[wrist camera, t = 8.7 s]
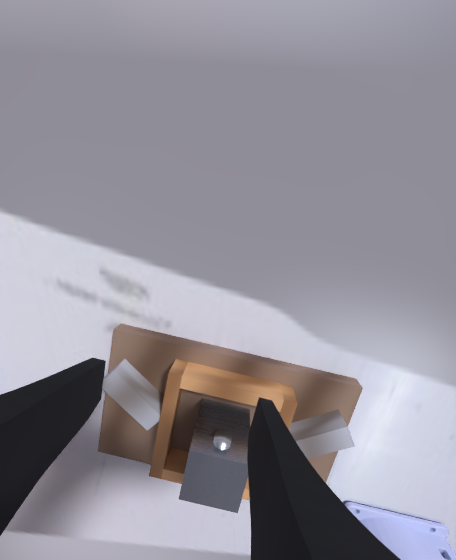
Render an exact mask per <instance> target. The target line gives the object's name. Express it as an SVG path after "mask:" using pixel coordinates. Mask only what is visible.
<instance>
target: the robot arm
mask: <svg viewBox="0 0 456 560" xmlns="http://www.w3.org/2000/svg"><path fill="white" fill-rule="evenodd" d="M105 362H106V361H104V360H100V359H96V358H91V359H88V360H86V361H84V362H81V363H79V364H77V365H74V366H72V367H70V368H68V369H65V370H63V371H61V372H58V373H56V374H54V375H51V376H49V377H47V378H44V379H42V380H39V381H36V382H34V383H31V384H29V385H26V386H24V387H21V388H18V389H16V390H13V391H10V392H7V393H4V394H1V395H0V535H1V534H2V533H3V531H4V530H5V528H6V527H7V525H8V524H9V522H10V521H11V519H12V518H13V516H14V515H15V513H16V512H17V510H18V509H19V507H20V506H21V504H22V503H23V502H24V500H25V499H26V497H27V496H28V494H29V493H30V492H31V490H32V489H33V487H34V486H35V484H36V483H37V482H38V480H39V479H40V478H41V476H42V475H43V474H44V472H45V471H46V470H47V469H48V467H49V466H50V465H51V464H52V463H53V461H54V460H55V459H56V458H57V457H58V455H59V454H60V453H61V452H62V450H63V449H64V448H65V447H66V446H67V444H68V443H69V442H70V441H71V440H72V438H73V437H74V436H75V435H76V433H77V432H78V431H79V430H80V428H81V427H82V426H83V425H84V424H85V422H86V421H87V420H88V418H89V417H90V415H91V414H92V412H93V411H94V409H95V407H96V406H97V404H98V403H99V401H100V399H101V394H102V386H103V378H104V370H105ZM247 463H248V481H249V497H250V513H251V560H456V553H455V552H454V550H453V549H452V547H451V546H450V544H449V543H448V541H447V539H446V537H447V536H448V534H449V530H448V529H447V527H446V526H445V525H443V524H440V523H436V522H432V521H428V520H423V519H419V518H415V517H411V516H407V515H403V514H399V513H394V512H390V511H386V510H382V509H378V508H374V507H370V506H365V505H361V504H357V503H353V502H347V503H346V504H345V505H344V504H343V503H342V501H341V500H340V499H339V498H338V497H337V496H336V495H335V494H334V493H333V491H332V490H331V489H330V488H329V487H328V485H327V484H326V483H325V482H324V480H323V479H322V478H321V477H320V475H319V474H318V473H317V471H316V470H315V469H314V468H313V466H312V465H311V463H310V462H309V461H308V459H307V458H306V456H305V455H304V453H303V452H302V450H301V449H300V447H299V446H298V444H297V443H296V441H295V439H294V438H293V436H292V435H291V433H290V431H289V430H288V428H287V426H286V424H285V423H284V421H283V419H282V417H281V415H280V414H279V412H278V410H277V408H276V406H275V404H274V403H273V401H272V400H269V399H264V398H260V397H259V399H258V402H257V406H256V409H255V413H254V416H253V420H252V423H251V427H250V430H249V434H248V452H247Z"/></svg>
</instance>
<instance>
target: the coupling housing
mask: <svg viewBox="0 0 456 560" xmlns="http://www.w3.org/2000/svg"><path fill="white" fill-rule="evenodd" d="M102 389H103V390H104V391H105V392H106V394H105V402H104V409H103V417H102V425H101V433H100V440H99V448H98V451H99V452H103V453H107V454H111V455H115V456H119V457H123V458H128V459H132V460H136V461H140V462H144V463H148V464H151V468H150V473H149V476H151V477H156V478H160V479H164V480H168V481H172V482H176V483H180V484H182V482H183V477H184V473H185V468H186V464H187V459H188V454H189V450H190V446H191V442H192V437H193V433H194V429H195V425H196V421H197V417H198V413H199V409H200V404H201V400H202V398H205V399H209V400H214V401H218V402H222V403H227V404H231V405H235V406H240V407H244V408H248V409H250V427H251V423H252V420H253V416H254V413H255V409H256V406H257V402H258V399H259V397H260V398H264V399H269V400H272V401H273V403H274V404H275V406H276V408H277V410H278V412H279V414H280V415H281V417H282V419H283V421H284V423H285V424H286V426H287V428H288V430H289V431H290V433H291V435H292V436H293V438H294V439H295V441H296V443H297V444H298V446H299V447H300V449H301V450H302V452H303V453H304V455H305V456H306V458H307V459H308V461H309V462H310V463H311V465H312V466H313V468H314V469H315V470H316V471H317V473H318V474H319V475H320V477H321V478H322V479H323V480H324V482H325V483H326V481H327V478H328V476H329V473H330V470H331V468H332V465H333V463H334V460H335V458H336V455H337V453H338V451H339V450H342V449H346V448H350V447H353V446H355V445H354V443H353V440H352V437H351V435H350V432H349V429H348V424H349V422H350V419H351V417H352V414H353V412H354V409H355V407H356V404H357V401H358V399H359V396H360V394H361V391H362V389H363V388H362V386H361V385H360V384H359V382H358V381H357V379H354V378H350V377H346V376H342V375H337V374H333V373H329V372H325V371H320V370H316V369H312V368H308V367H303V366H299V365H295V364H291V363H286V362H282V361H278V360H274V359H269V358H265V357H261V356H256V355H252V354H248V353H244V352H239V351H235V350H231V349H227V348H222V347H218V346H214V345H210V344H205V343H201V342H197V341H193V340H188V339H184V338H180V337H176V336H171V335H167V334H163V333H159V332H154V331H150V330H146V329H141V328H137V327H133V326H129V325H124V324H120V325H119V326H118V327H116V328H115V329H114V332H113V340H112V347H111V355H110V363H109V371H108V374H107V376H106V377H105V378H104V379H103V386H102ZM242 499H246V500H250V497H249V481H248V479H247V482H246V486H245V489H244V493H243V496H242Z"/></svg>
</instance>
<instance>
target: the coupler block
mask: <svg viewBox="0 0 456 560" xmlns="http://www.w3.org/2000/svg"><path fill="white" fill-rule="evenodd" d="M249 430H250V409H248V408H244V407H240V406H235V405H231V404H227V403H222V402H218V401H214V400H209V399H205V398H202V400H201V404H200V409H199V413H198V417H197V421H196V425H195V429H194V433H193V437H192V442H191V446H190V450H189V454H188V459H187V464H186V468H185V473H184V477H183V482H182V487H181V491H180V496H179V499H180V500H185V501H189V502H193V503H197V504H202V505H206V506H210V507H214V508H219V509H223V510H227V511H231V512H235V513H238V510H239V506H240V503H241V500H242V496H243V493H244V489H245V486H246V482H247V479H248V463H247V452H248V434H249Z"/></svg>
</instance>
